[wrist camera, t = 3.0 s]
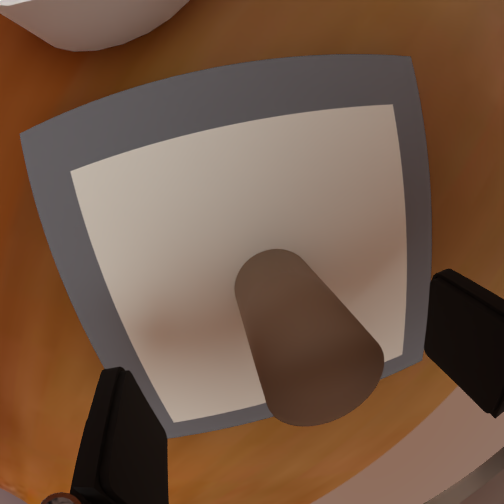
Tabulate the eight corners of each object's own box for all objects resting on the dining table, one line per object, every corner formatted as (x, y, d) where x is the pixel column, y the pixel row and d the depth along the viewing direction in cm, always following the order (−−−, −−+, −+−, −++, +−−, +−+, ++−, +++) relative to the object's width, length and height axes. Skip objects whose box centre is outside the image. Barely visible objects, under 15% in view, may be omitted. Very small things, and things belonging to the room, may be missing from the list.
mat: (399, 60, 12) (410, 56, 11) (414, 352, 19) (422, 360, 18) (30, 134, 11) (19, 133, 10) (151, 429, 17) (150, 440, 16)
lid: (380, 106, 12) (504, 95, 6) (393, 345, 17) (463, 422, 10) (79, 169, 11) (-28, 199, 4) (173, 409, 15) (175, 520, 9)
